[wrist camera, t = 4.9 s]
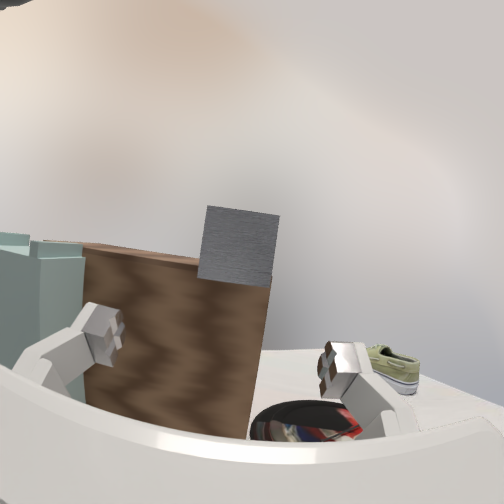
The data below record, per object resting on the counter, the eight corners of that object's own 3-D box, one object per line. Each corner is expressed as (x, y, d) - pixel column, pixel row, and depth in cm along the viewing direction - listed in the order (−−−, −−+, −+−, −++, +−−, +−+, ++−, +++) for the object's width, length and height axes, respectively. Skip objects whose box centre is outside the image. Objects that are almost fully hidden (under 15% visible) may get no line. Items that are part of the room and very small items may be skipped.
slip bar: (197, 277, 14) (207, 205, 14) (222, 262, 36) (226, 233, 36) (269, 288, 14) (279, 215, 14) (250, 266, 36) (254, 237, 36)
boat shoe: (358, 357, 82) (364, 331, 82) (426, 390, 55) (436, 358, 55) (333, 360, 79) (339, 332, 79) (402, 399, 52) (413, 364, 52)
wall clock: (439, 459, 30) (329, 393, 56) (450, 439, 30) (334, 376, 56) (335, 543, 17) (218, 416, 43) (351, 525, 17) (221, 395, 42)
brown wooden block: (58, 451, 22) (43, 240, 22) (96, 408, 35) (99, 243, 35) (234, 498, 23) (272, 276, 23) (234, 438, 36) (260, 267, 36)
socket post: (21, 483, 14) (-23, 229, 14) (43, 458, 20) (21, 233, 20) (82, 516, 14) (43, 242, 14) (100, 483, 20) (87, 244, 20)
